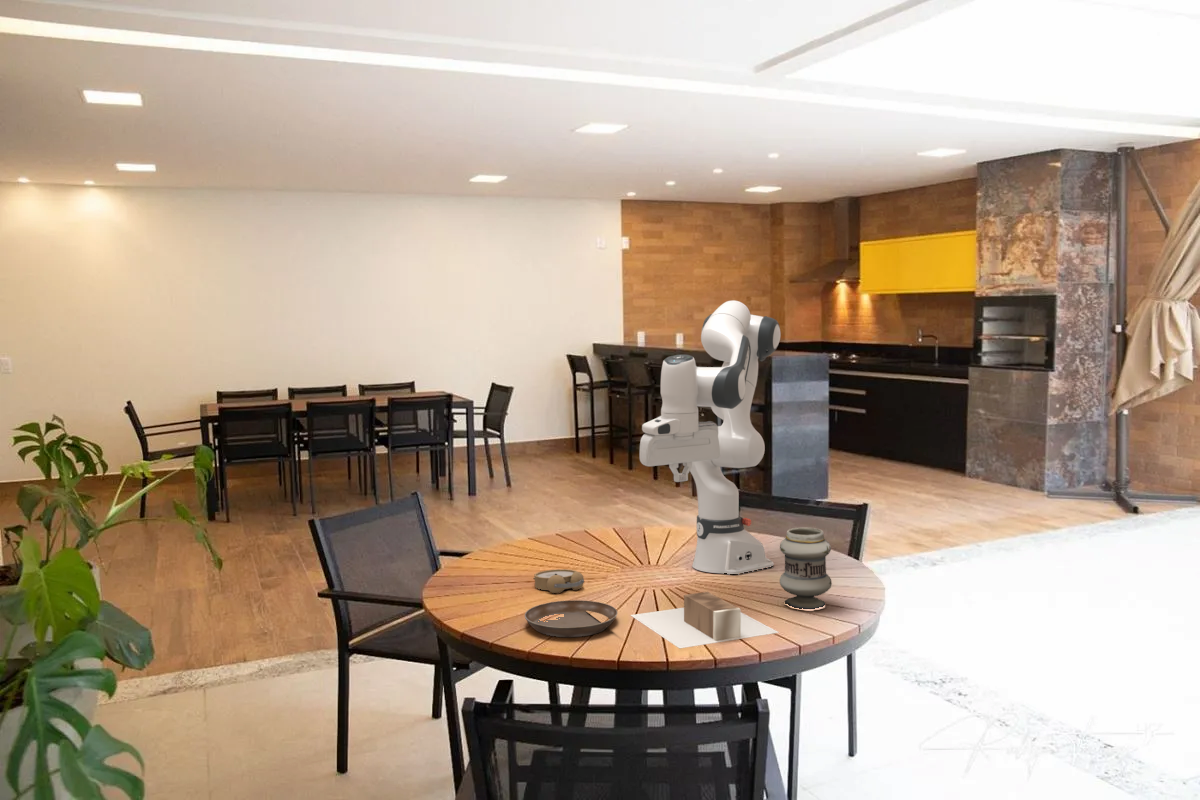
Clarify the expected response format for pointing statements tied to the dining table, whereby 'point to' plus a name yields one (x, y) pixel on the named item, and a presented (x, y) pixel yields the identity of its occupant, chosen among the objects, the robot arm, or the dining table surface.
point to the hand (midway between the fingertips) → (680, 481)
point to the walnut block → (712, 616)
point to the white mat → (686, 635)
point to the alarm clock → (558, 580)
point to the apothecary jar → (805, 567)
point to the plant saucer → (570, 618)
